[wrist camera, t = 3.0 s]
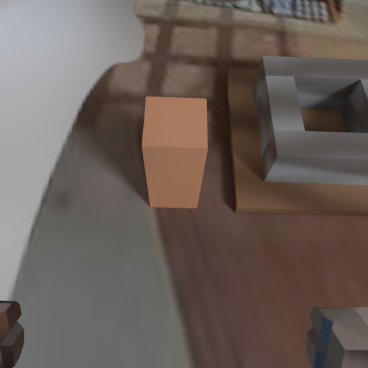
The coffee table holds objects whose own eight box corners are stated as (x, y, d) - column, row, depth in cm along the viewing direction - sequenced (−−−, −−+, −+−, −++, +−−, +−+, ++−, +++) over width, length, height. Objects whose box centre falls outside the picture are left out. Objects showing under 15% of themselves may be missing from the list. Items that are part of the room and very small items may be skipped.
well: (226, 77, 35) (234, 36, 30) (370, 82, 35) (398, 43, 31) (235, 212, 27) (247, 184, 23) (419, 217, 28) (466, 191, 23)
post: (153, 166, 29) (146, 96, 21) (196, 168, 29) (206, 98, 21) (150, 206, 27) (141, 146, 19) (197, 208, 27) (207, 148, 19)
